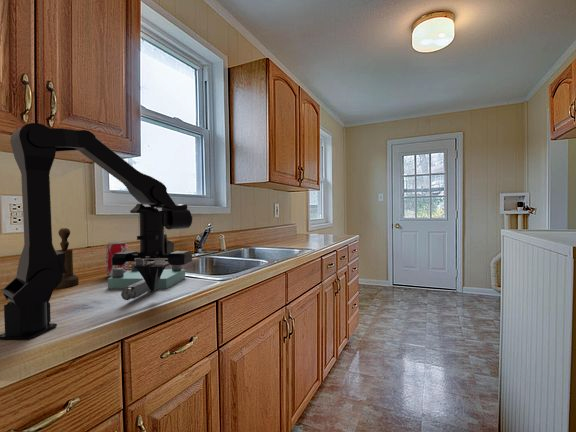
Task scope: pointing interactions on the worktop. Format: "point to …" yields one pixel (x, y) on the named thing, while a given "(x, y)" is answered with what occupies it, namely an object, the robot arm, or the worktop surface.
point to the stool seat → (133, 276)
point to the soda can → (110, 251)
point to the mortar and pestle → (67, 261)
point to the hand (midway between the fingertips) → (153, 291)
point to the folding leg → (135, 290)
